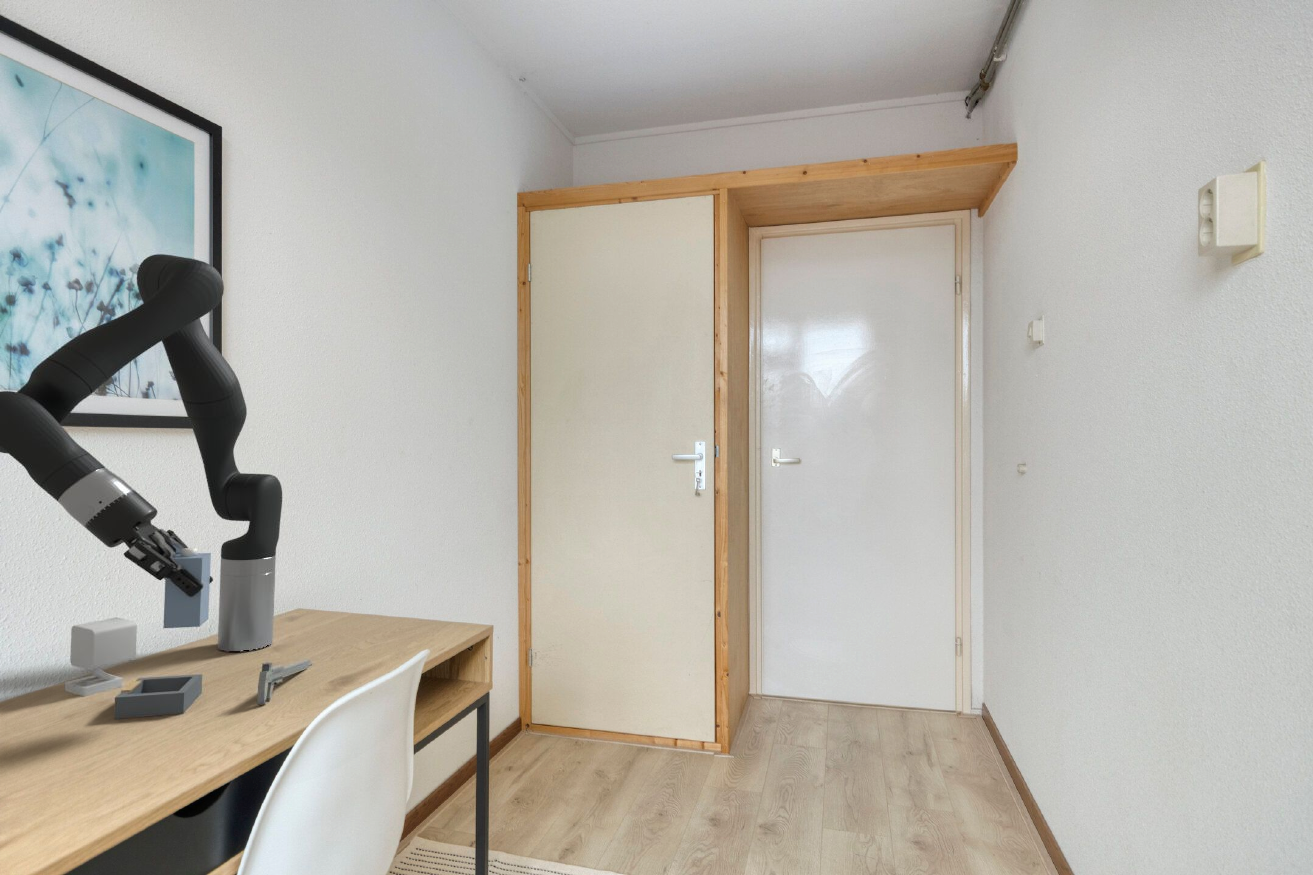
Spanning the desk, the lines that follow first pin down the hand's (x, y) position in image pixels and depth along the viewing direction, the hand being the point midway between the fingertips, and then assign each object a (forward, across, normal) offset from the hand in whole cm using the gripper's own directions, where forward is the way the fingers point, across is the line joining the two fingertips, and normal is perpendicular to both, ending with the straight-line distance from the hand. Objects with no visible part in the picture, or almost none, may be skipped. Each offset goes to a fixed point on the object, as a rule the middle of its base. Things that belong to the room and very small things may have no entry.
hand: (202, 588), depth 104 cm
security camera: (+1, +14, +25) cm, 29 cm away
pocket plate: (+9, +3, +17) cm, 19 cm away
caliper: (+20, +9, +6) cm, 23 cm away
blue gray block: (+2, 0, +5) cm, 6 cm away
